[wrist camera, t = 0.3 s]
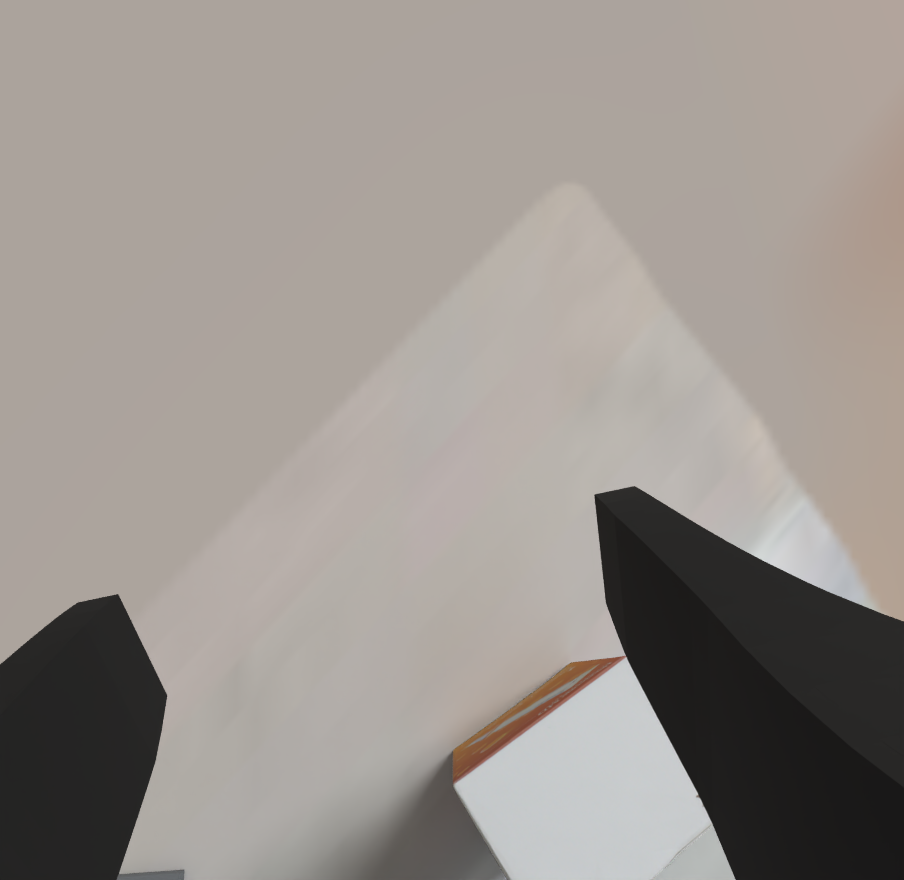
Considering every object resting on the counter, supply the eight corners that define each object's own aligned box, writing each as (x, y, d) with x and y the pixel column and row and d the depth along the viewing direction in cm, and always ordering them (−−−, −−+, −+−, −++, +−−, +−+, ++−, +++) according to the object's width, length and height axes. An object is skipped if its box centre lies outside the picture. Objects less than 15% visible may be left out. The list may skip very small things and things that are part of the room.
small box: (571, 659, 38) (629, 649, 26) (644, 765, 37) (744, 808, 24) (447, 750, 37) (447, 785, 25) (518, 864, 35) (556, 963, 23)
